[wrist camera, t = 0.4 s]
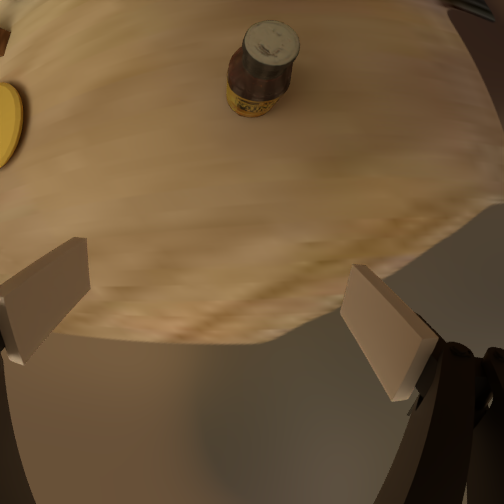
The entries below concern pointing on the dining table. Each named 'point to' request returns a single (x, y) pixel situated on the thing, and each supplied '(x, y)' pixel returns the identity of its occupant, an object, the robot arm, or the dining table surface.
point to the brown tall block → (3, 40)
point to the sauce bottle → (261, 68)
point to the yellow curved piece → (9, 121)
